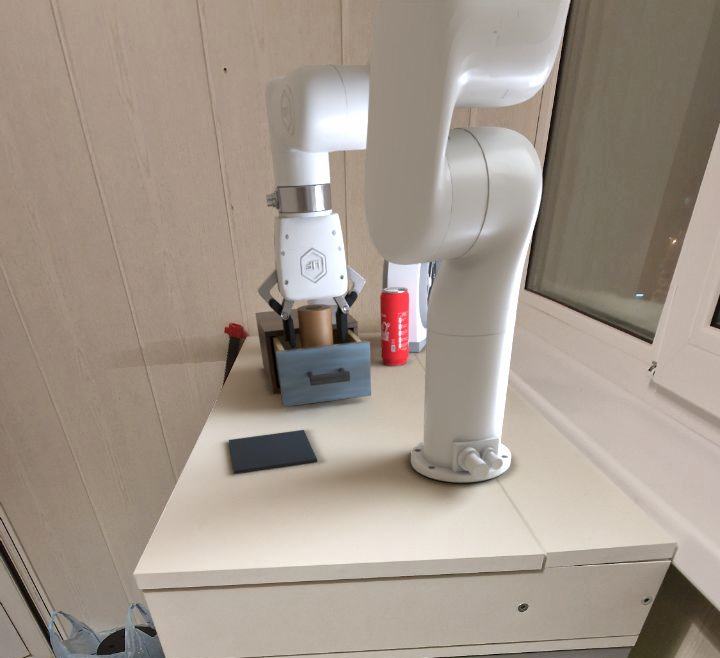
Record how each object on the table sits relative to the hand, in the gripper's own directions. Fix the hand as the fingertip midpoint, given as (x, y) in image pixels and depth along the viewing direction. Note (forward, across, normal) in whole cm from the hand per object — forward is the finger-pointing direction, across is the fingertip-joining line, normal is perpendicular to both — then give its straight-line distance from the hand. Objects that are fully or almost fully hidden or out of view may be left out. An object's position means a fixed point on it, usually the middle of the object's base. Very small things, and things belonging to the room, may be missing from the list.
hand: (316, 342), depth 88 cm
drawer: (+7, 0, -1) cm, 7 cm away
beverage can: (+8, +17, +14) cm, 24 cm away
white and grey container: (+8, +24, +25) cm, 36 cm away
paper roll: (+6, 0, 0) cm, 6 cm away
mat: (+8, -11, -21) cm, 25 cm away
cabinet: (+8, 0, +12) cm, 14 cm away
